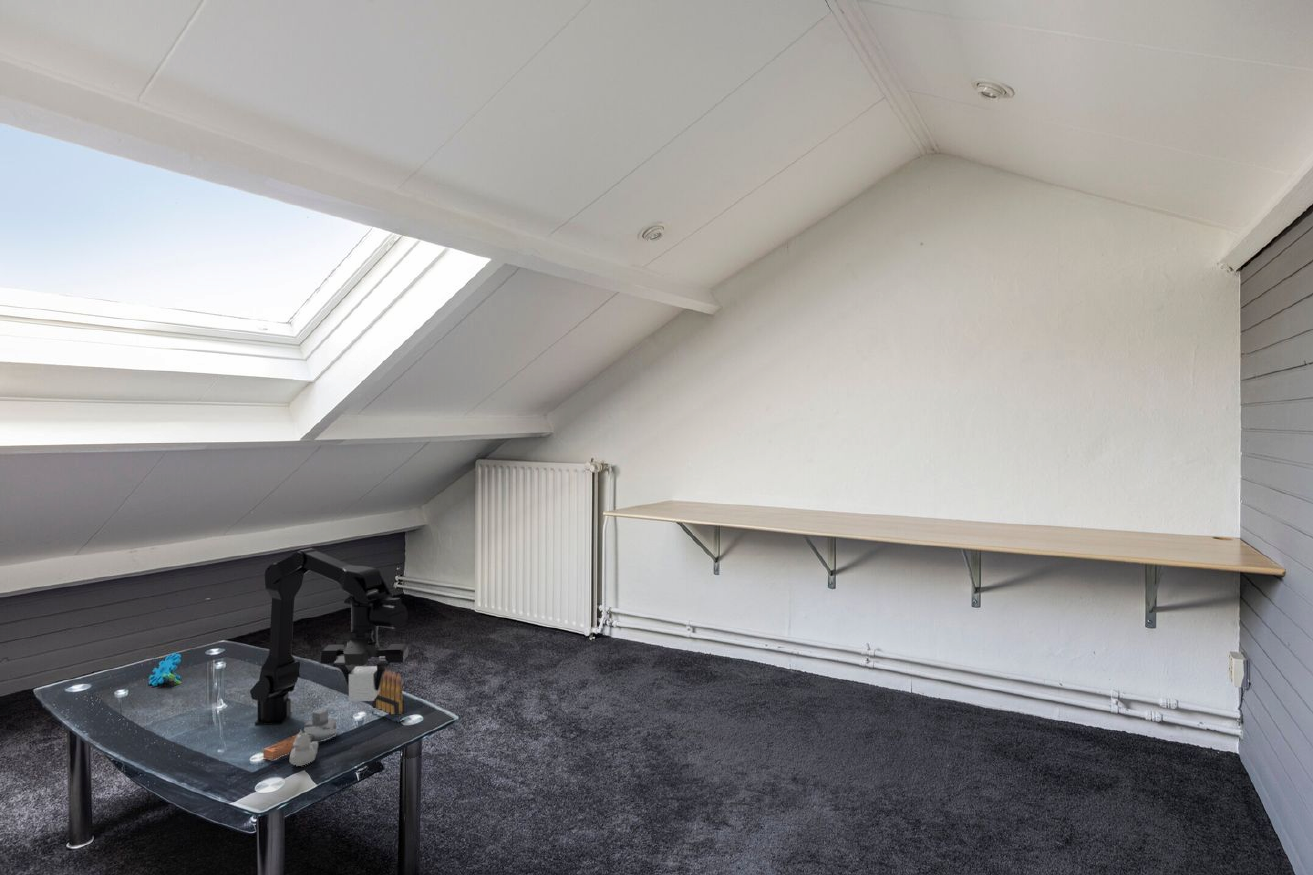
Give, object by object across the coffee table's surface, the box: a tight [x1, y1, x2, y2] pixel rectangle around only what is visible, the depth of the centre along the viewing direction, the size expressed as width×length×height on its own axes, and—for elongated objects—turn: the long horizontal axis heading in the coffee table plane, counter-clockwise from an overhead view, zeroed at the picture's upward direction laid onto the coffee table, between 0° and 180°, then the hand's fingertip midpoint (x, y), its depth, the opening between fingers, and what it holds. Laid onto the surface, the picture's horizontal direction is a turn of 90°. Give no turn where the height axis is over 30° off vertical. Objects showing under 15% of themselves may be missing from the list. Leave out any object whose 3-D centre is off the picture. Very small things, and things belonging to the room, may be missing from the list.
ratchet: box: [262, 708, 337, 760], centre depth 178 cm, size 18×7×6 cm, turn 155°
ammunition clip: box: [371, 669, 405, 715], centre depth 194 cm, size 11×2×12 cm, turn 55°
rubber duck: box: [289, 728, 319, 767], centre depth 168 cm, size 5×7×8 cm
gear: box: [148, 652, 182, 687], centre depth 219 cm, size 11×6×10 cm
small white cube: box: [348, 665, 380, 702], centre depth 180 cm, size 6×6×6 cm
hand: (364, 689), depth 180 cm, fingers closed on small white cube, 5 cm apart
